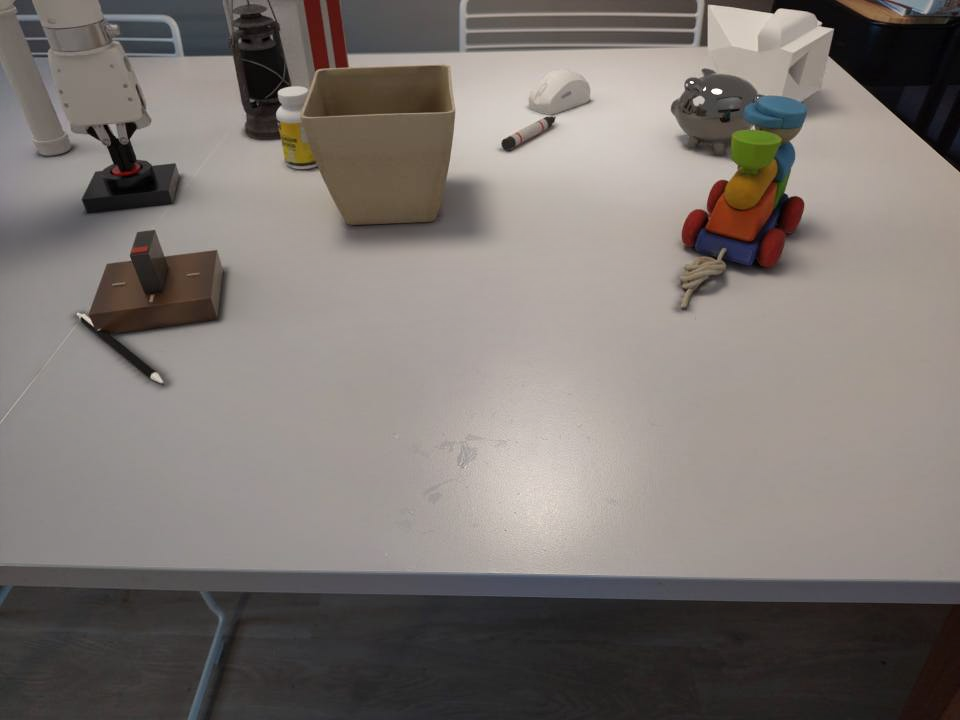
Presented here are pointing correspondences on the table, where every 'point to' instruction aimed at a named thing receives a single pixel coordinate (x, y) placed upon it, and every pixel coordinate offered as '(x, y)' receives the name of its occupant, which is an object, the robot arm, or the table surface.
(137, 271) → the dial knob
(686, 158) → the table surface
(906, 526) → the table surface
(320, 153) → the flower pot
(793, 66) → the white angular block
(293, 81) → the red white striped box
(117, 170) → the button
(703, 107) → the piggy bank
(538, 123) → the marker
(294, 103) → the pill bottle
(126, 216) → the table surface
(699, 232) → the toy train
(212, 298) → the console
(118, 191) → the black button base
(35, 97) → the pipe
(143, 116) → the robot arm
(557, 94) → the computer mouse
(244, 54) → the lantern
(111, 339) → the pen
